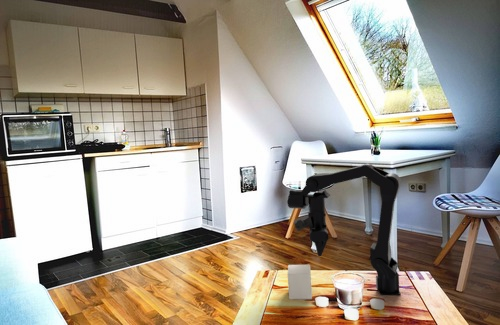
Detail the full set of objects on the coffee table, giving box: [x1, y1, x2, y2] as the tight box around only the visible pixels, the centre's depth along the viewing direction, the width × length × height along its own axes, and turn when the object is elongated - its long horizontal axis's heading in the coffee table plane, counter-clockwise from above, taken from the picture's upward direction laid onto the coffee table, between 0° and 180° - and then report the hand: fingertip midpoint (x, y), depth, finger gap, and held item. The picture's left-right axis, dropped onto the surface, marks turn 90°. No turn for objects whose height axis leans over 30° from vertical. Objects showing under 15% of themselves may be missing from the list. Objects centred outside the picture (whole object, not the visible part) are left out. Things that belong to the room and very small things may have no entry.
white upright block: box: [287, 264, 313, 300], centre depth 124 cm, size 8×8×9 cm
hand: (319, 251), depth 133 cm, fingers open, 9 cm apart
